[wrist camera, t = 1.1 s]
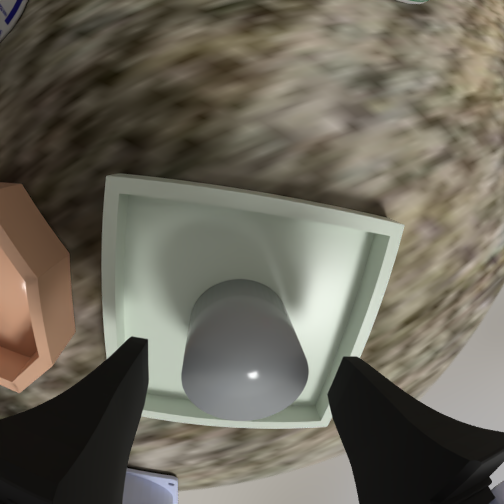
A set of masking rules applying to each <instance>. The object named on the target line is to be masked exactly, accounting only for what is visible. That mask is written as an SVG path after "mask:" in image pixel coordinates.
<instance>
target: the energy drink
mask: <svg viewBox="0 0 504 504" xmlns="http://www.w3.org/2000/svg"><path fill="white" fill-rule="evenodd" d="M27 1H28V0H0V42H1V41H2V40H3V39H4V38H5V37H6V36H7V34H8V33H9V32H10V31H11V30H12V28H13V27H14V25H15V24H16V23H17V21H18V20H19V18H20V16H21V15H22V13H23V11H24V9H25V7H26V4H27Z"/></svg>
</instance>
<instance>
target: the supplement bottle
mask: <svg viewBox="0 0 504 504" xmlns="http://www.w3.org/2000/svg"><path fill="white" fill-rule="evenodd" d="M397 1H400V2H404V3H409V4H421V3H424V2H426V1H428V0H397Z"/></svg>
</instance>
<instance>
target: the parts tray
mask: <svg viewBox="0 0 504 504" xmlns="http://www.w3.org/2000/svg"><path fill="white" fill-rule="evenodd" d="M403 229H404V225H403V224H401V223H399V222H397V221H394V220H392V219H390V218H387V217H383V216H379V215H374V214H370V213H365V212H361V211H356V210H352V209H347V208H342V207H338V206H333V205H328V204H323V203H318V202H313V201H308V200H303V199H297V198H292V197H287V196H281V195H275V194H270V193H264V192H258V191H252V190H246V189H240V188H233V187H227V186H220V185H213V184H206V183H199V182H192V181H184V180H176V179H168V178H160V177H151V176H142V175H132V174H122V173H118V174H112V175H107V176H106V183H105V194H104V207H103V224H102V306H103V323H104V336H105V347H106V357H107V358H109V357H110V356H111V355H112V354H113V353H114V352H115V351H116V350H117V349H118V348H119V347H120V346H121V345H122V344H123V343H124V342H125V341H126V340H127V339H128V338H130V337H131V336H133V337H139V338H145V339H148V367H149V384H148V389H147V395H146V400H145V405H144V408H143V411H142V415H141V416H143V417H148V418H154V419H160V420H167V421H174V422H181V423H189V424H198V425H208V426H220V427H236V428H266V429H285V428H315V427H327V426H328V424H329V422H330V420H331V418H332V414H331V410H330V406H329V401H328V396H327V394H328V391H329V389H330V387H331V385H332V382H333V380H334V378H335V375H336V373H337V371H338V368H339V366H340V363H341V361H342V358H343V356H357V357H359V358H360V356H361V354H362V351H363V349H364V347H365V344H366V342H367V339H368V337H369V334H370V332H371V329H372V326H373V324H374V321H375V318H376V316H377V313H378V310H379V307H380V305H381V302H382V299H383V296H384V293H385V290H386V287H387V284H388V281H389V278H390V275H391V271H392V268H393V265H394V261H395V258H396V255H397V251H398V248H399V244H400V240H401V237H402V233H403ZM233 279H247V280H253V281H256V282H259V283H262V284H264V285H266V286H267V287H269V288H271V289H272V290H273V291H274V292H275V293H276V294H277V295H278V296H279V297H280V299H281V300H282V302H283V304H284V306H285V308H286V311H287V313H288V315H289V318H290V320H291V323H292V325H293V328H294V330H295V332H296V335H297V337H298V340H299V342H300V345H301V347H302V349H303V352H304V354H305V357H306V359H307V362H308V368H309V374H308V380H307V383H306V386H305V388H304V390H303V391H302V393H301V394H300V396H299V397H298V398H297V399H296V400H295V401H294V402H293V403H292V404H291V405H289V406H288V407H287V408H285V409H284V410H282V411H280V412H278V413H276V414H274V415H271V416H269V417H266V418H262V419H258V420H251V421H232V420H225V419H221V418H217V417H214V416H212V415H210V414H207V413H206V412H204V411H202V410H201V409H199V408H198V407H197V406H195V405H194V404H193V403H192V402H191V401H190V399H189V398H188V397H187V395H186V393H185V391H184V389H183V386H182V381H181V373H182V366H183V359H184V353H185V346H186V340H187V333H188V327H189V321H190V315H191V311H192V308H193V306H194V304H195V302H196V301H197V299H198V298H199V297H200V296H201V294H202V293H203V292H205V291H206V290H207V289H209V288H210V287H212V286H213V285H216V284H218V283H220V282H223V281H227V280H233Z"/></svg>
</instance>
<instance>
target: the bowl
mask: <svg viewBox="0 0 504 504" xmlns="http://www.w3.org/2000/svg"><path fill="white" fill-rule="evenodd" d="M75 332H76V330H75V322H74V313H73V302H72V290H71V274H70V253H69V252H68V251H67V249H66V248H65V247H64V245H63V244H62V243H61V241H60V240H59V239H58V237H57V236H56V234H55V233H54V232H53V230H52V229H51V227H50V226H49V225H48V223H47V222H46V220H45V219H44V217H43V216H42V214H41V213H40V211H39V210H38V208H37V207H36V205H35V204H34V202H33V201H32V199H31V198H30V196H29V195H28V193H27V191H26V190H25V188H24V187H23V185H22V184H19V183H3V182H0V385H2V386H4V387H7V388H9V389H11V390H13V391H16V392H18V393H20V392H21V391H23V390H24V389H25V388H26V387H27V386H29V385H30V384H31V383H32V382H33V381H35V380H36V379H37V378H38V377H40V376H41V375H42V374H43V373H44V372H46V371H47V370H48V369H49V368H51V367H52V366H53V364H54V363H55V361H56V360H57V358H58V357H59V355H60V354H61V352H62V351H63V349H64V348H65V347H66V345H67V344H68V342H69V341H70V339H71V338H72V336H73V335H74V334H75Z"/></svg>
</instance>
